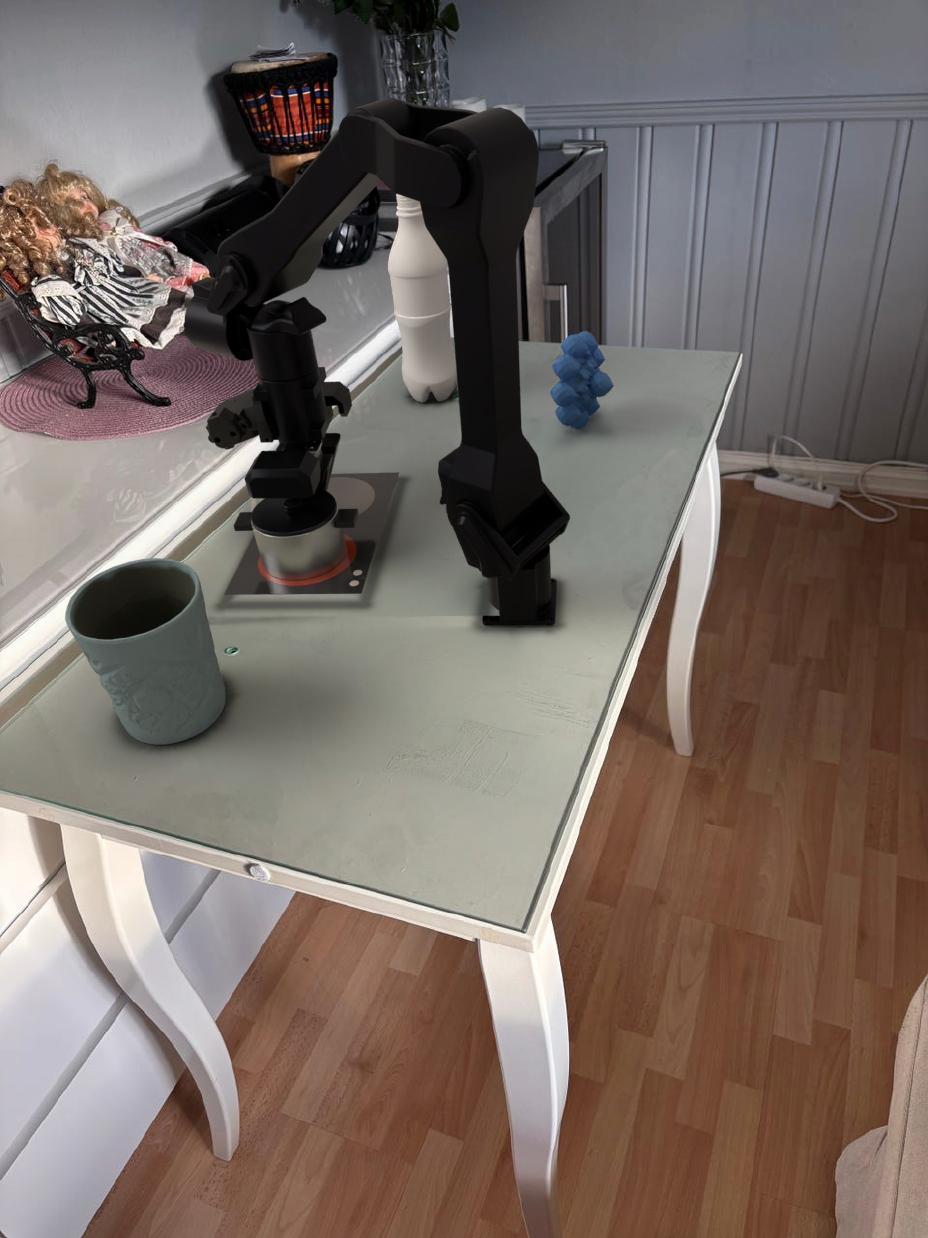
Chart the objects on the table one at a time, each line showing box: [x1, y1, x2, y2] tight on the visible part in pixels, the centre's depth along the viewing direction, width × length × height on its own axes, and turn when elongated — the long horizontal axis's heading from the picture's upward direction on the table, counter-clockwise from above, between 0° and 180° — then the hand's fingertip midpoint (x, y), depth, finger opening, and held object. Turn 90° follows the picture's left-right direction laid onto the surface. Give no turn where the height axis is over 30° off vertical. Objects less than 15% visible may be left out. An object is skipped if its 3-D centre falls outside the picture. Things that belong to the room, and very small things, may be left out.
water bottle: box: [387, 193, 457, 403], centre depth 112 cm, size 7×7×25 cm
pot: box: [233, 488, 358, 580], centre depth 88 cm, size 8×12×6 cm
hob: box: [223, 471, 400, 596], centre depth 95 cm, size 23×14×1 cm, turn 174°
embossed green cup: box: [64, 557, 227, 746], centre depth 72 cm, size 10×10×12 cm
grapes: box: [549, 330, 615, 430], centre depth 105 cm, size 12×7×12 cm, turn 152°
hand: (317, 509), depth 95 cm, fingers closed
